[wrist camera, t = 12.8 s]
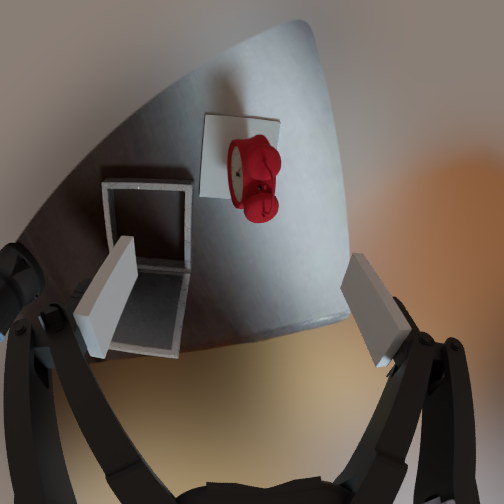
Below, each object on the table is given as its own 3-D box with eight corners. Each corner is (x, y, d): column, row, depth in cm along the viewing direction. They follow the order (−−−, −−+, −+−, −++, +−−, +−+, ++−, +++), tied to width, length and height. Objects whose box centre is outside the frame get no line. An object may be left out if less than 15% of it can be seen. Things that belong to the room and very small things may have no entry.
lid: (109, 265, 45) (111, 269, 46) (79, 339, 33) (82, 343, 34) (189, 272, 47) (190, 277, 48) (177, 354, 35) (178, 358, 35)
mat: (199, 195, 43) (199, 196, 43) (205, 114, 37) (205, 114, 36) (268, 201, 45) (268, 202, 44) (280, 122, 38) (280, 122, 38)
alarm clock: (227, 130, 38) (223, 146, 25) (270, 130, 38) (288, 146, 25) (227, 195, 43) (225, 241, 30) (267, 195, 44) (282, 241, 31)
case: (116, 259, 48) (110, 268, 46) (107, 177, 40) (100, 183, 38) (192, 265, 50) (190, 275, 47) (194, 180, 42) (191, 186, 39)
